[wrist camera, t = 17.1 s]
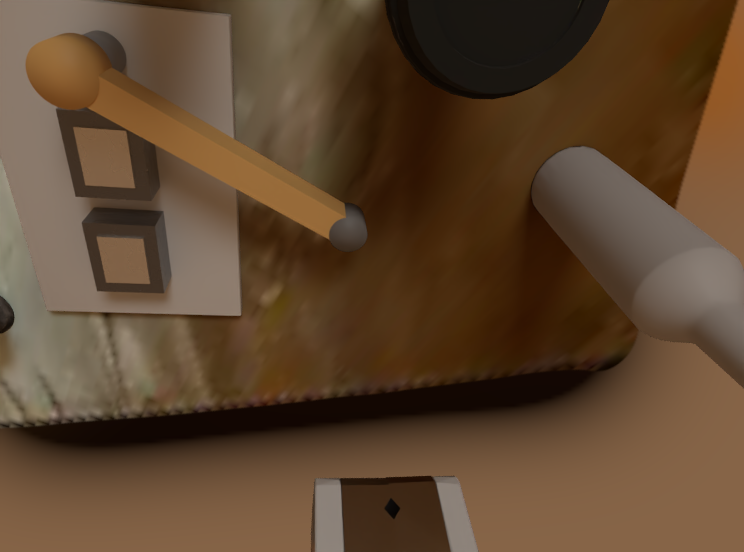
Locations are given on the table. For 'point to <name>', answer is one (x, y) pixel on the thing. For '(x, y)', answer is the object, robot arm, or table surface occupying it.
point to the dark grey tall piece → (5, 315)
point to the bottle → (645, 255)
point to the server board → (177, 177)
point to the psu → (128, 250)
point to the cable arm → (184, 135)
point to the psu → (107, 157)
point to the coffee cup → (491, 41)
